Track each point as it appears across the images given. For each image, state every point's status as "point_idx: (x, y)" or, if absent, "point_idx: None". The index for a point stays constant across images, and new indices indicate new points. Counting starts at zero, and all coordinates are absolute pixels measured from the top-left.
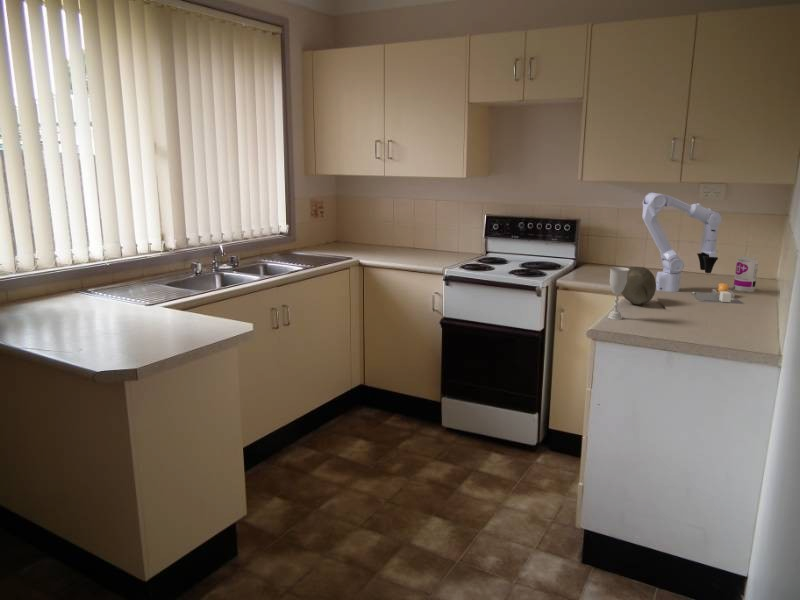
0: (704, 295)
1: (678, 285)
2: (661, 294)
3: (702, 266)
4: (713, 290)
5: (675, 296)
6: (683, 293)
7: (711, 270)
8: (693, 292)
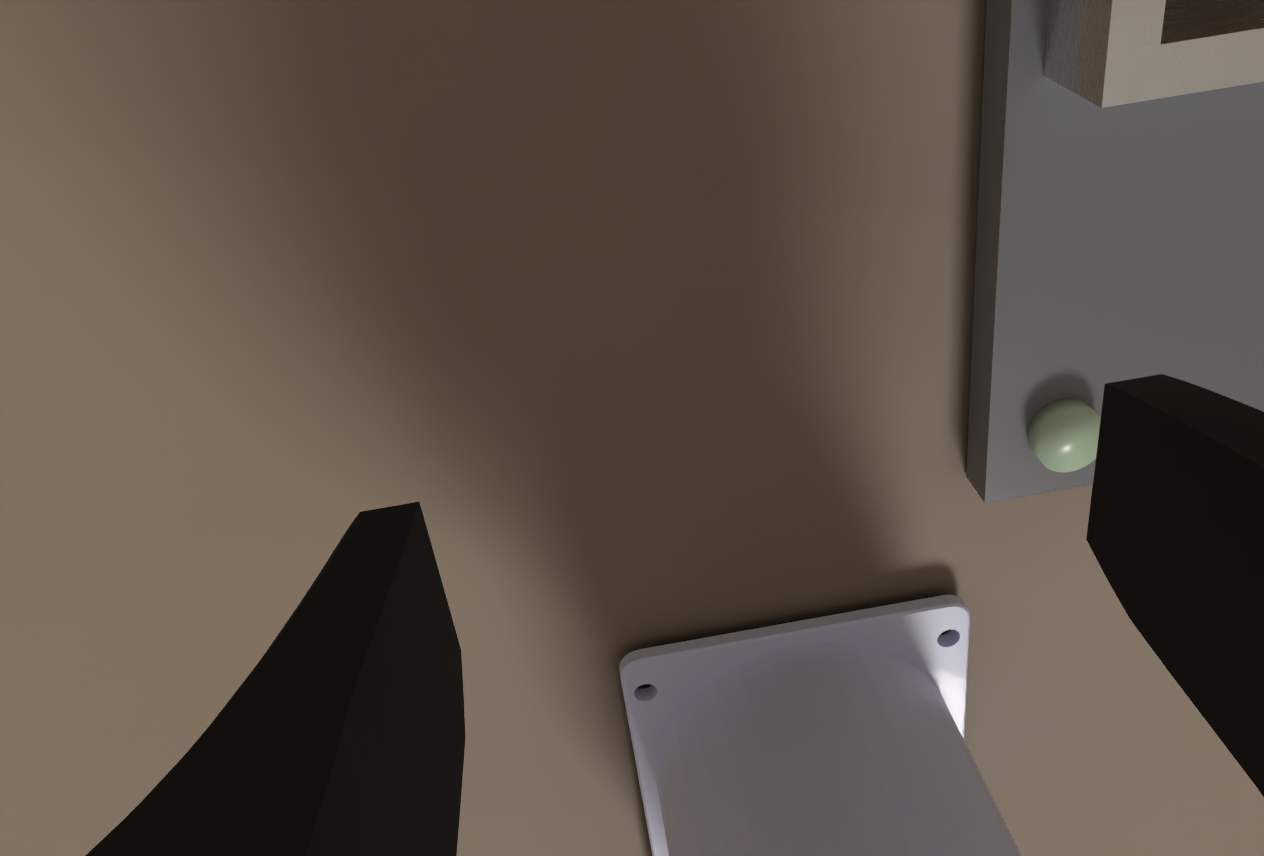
0: (1244, 249)
1: (945, 755)
2: (1012, 813)
3: (445, 724)
4: (1232, 84)
5: (1136, 658)
6: (841, 557)
7: (1250, 420)
8: (1088, 455)
